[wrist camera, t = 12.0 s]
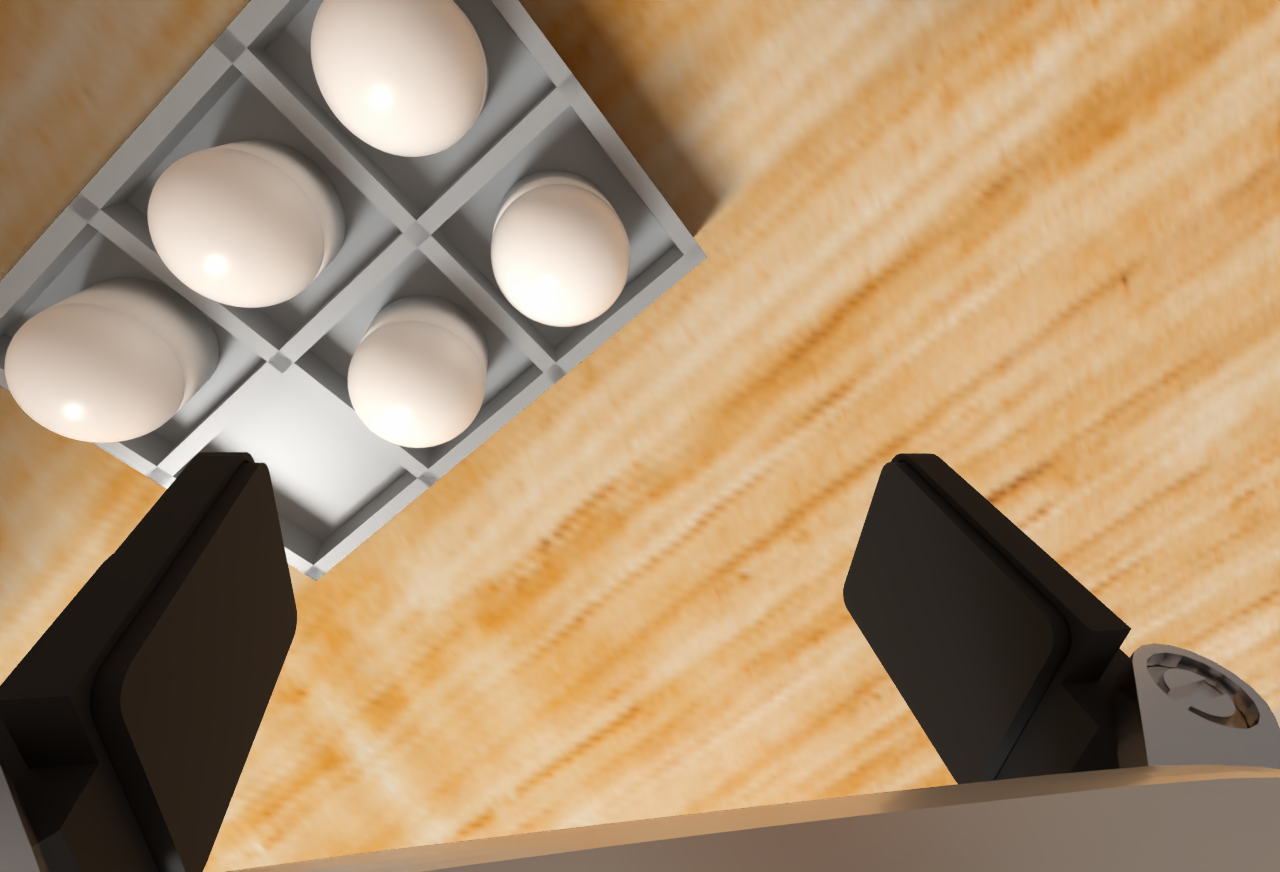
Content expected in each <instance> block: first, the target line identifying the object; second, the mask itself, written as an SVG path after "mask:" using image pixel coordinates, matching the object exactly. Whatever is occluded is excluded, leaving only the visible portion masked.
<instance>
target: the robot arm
mask: <svg viewBox="0 0 1280 872" xmlns="http://www.w3.org/2000/svg"><path fill="white" fill-rule="evenodd" d="M843 596H844V602H845V605H846V607H847V609H848V611H849V613H850V614H851V616H852V617H853V619H854V620H855V622H856V624H857V625H858V627H859V628H860V630H861V632H862V633H863V635H864V636H865V638H866V640H867V641H868V643H869V644H870V646H871V647H872V649H873V651H874V652H875V654H876V655H877V657H878V659H879V660H880V662H881V663H882V665H883V667H884V668H885V670H886V671H887V673H888V674H889V676H890V678H891V679H892V681H893V682H894V684H895V686H896V687H897V689H898V690H899V692H900V693H901V695H902V697H903V698H904V700H905V701H906V703H907V705H908V706H909V708H910V709H911V711H912V713H913V714H914V716H915V717H916V719H917V720H918V722H919V724H920V725H921V727H922V728H923V730H924V732H925V733H926V735H927V736H928V738H929V740H930V741H931V743H932V744H933V746H934V747H935V749H936V751H937V752H938V754H939V755H940V757H941V759H942V760H943V762H944V763H945V765H946V766H947V768H948V770H949V771H950V773H951V774H952V776H953V778H954V779H955V780H956V782H957V783H958V785H948V786H939V787H930V788H921V789H911V790H902V791H893V792H884V793H874V794H865V795H856V796H847V797H838V798H830V799H821V800H812V801H803V802H794V803H785V804H776V805H768V806H759V807H750V808H741V809H732V810H724V811H715V812H706V813H697V814H689V815H680V816H671V817H663V818H654V819H645V820H637V821H628V822H619V823H610V824H602V825H594V826H585V827H577V828H569V829H560V830H552V831H543V832H535V833H527V834H518V835H510V836H502V837H493V838H485V839H477V840H468V841H460V842H452V843H443V844H435V845H426V846H418V847H410V848H401V849H393V850H385V851H376V852H368V853H360V854H353V855H346V856H338V857H331V858H323V859H316V860H309V861H301V862H294V863H287V864H279V865H272V866H265V867H257V868H250V869H243V870H235V871H228V872H1280V728H1279V726H1278V723H1277V721H1276V718H1275V716H1274V714H1273V713H1272V711H1271V709H1270V708H1269V706H1268V704H1267V703H1266V702H1265V701H1264V700H1263V699H1262V698H1261V697H1260V695H1259V694H1258V693H1257V692H1256V691H1255V690H1254V689H1253V688H1252V687H1250V686H1249V685H1248V684H1247V683H1245V682H1244V681H1243V680H1241V679H1240V678H1239V677H1237V676H1236V675H1235V674H1234V673H1232V672H1230V671H1229V670H1227V669H1225V668H1223V667H1222V666H1220V665H1218V664H1217V663H1215V662H1213V661H1211V660H1209V659H1207V658H1205V657H1202V656H1200V655H1198V654H1196V653H1194V652H1191V651H1188V650H1185V649H1181V648H1178V647H1175V646H1171V645H1163V644H1148V645H1142V646H1140V647H1139V648H1138V649H1137V650H1135V651H1134V652H1133V654H1132V655H1131V657H1130V658H1129V657H1128V656H1127V655H1126V654H1125V653H1124V652H1123V651H1122V650H1121V649H1119V648H1120V646H1121V644H1122V643H1123V641H1124V640H1125V638H1126V636H1127V635H1128V633H1129V631H1130V630H1131V628H1130V627H1129V626H1128V625H1126V624H1125V623H1124V622H1123V621H1122V620H1121V619H1120V618H1119V617H1117V616H1116V615H1115V614H1114V613H1113V612H1112V611H1111V610H1110V609H1109V608H1107V607H1106V606H1105V605H1104V604H1103V603H1102V602H1101V601H1100V600H1098V599H1097V598H1096V597H1095V596H1094V595H1093V594H1092V593H1091V592H1089V591H1088V590H1087V589H1086V588H1085V587H1084V586H1083V585H1082V584H1081V583H1079V582H1078V581H1077V580H1076V579H1075V578H1074V577H1073V576H1072V575H1070V574H1069V573H1068V572H1067V571H1066V570H1065V569H1064V568H1063V567H1061V566H1060V565H1059V564H1058V563H1057V562H1056V561H1055V560H1054V559H1053V558H1051V557H1050V556H1049V555H1048V554H1047V553H1046V552H1045V551H1044V550H1042V549H1041V548H1040V547H1039V546H1038V545H1037V544H1036V543H1035V542H1033V541H1032V540H1031V539H1030V538H1029V537H1028V536H1027V535H1026V534H1024V533H1023V532H1022V531H1021V530H1020V529H1019V528H1018V527H1017V526H1016V525H1014V524H1013V523H1012V522H1011V521H1010V520H1009V519H1008V518H1007V517H1005V516H1004V515H1003V514H1002V513H1001V512H1000V511H999V510H998V509H996V508H995V507H994V506H993V505H992V504H991V503H990V502H989V501H988V500H986V499H985V498H984V497H983V496H982V495H981V494H980V493H979V492H977V491H976V490H975V489H974V488H973V487H972V486H971V485H970V484H968V483H967V482H966V481H965V480H964V479H963V478H962V477H961V476H960V475H958V474H957V473H956V472H955V471H954V470H953V469H952V468H951V467H949V466H948V465H947V464H946V463H945V462H944V461H943V460H942V459H940V458H939V457H938V456H936V455H935V454H898V455H896V456H895V457H894V458H893V459H892V461H891V462H889V463H887V464H886V465H885V466H884V467H883V469H882V471H881V474H880V477H879V480H878V483H877V486H876V489H875V492H874V495H873V499H872V502H871V505H870V508H869V511H868V514H867V517H866V520H865V523H864V526H863V529H862V532H861V535H860V538H859V541H858V544H857V548H856V551H855V554H854V557H853V560H852V563H851V566H850V569H849V572H848V575H847V578H846V581H845V584H844V589H843ZM296 624H297V610H296V604H295V599H294V594H293V589H292V584H291V579H290V573H289V568H288V563H287V558H286V553H285V548H284V543H283V538H282V533H281V528H280V522H279V517H278V512H277V507H276V502H275V497H274V492H273V487H272V482H271V476H270V472H269V469H268V467H267V465H266V464H265V463H255V462H254V459H253V457H252V456H251V454H249V453H248V452H200V453H198V454H197V455H196V456H194V458H193V459H192V460H191V461H190V462H189V464H188V465H187V466H186V467H185V468H184V470H183V471H182V472H181V473H180V474H179V476H178V477H177V478H176V479H175V480H174V482H173V483H172V484H171V485H170V487H169V488H168V489H167V490H166V491H165V493H164V494H163V495H162V496H161V497H160V499H159V500H158V501H157V502H156V503H155V505H154V506H153V507H152V508H151V509H150V511H149V512H148V513H147V514H146V515H145V517H144V518H143V519H142V520H141V521H140V523H139V524H138V525H137V526H136V528H135V529H134V530H133V531H132V532H131V534H130V535H129V536H128V537H127V538H126V540H125V541H124V542H123V543H122V544H121V546H120V547H119V548H118V549H117V550H116V552H115V553H114V554H112V555H111V556H110V557H109V558H108V559H107V560H106V561H105V562H103V564H102V565H101V566H100V567H99V568H98V570H97V571H96V572H95V573H94V574H93V576H92V577H91V578H90V579H89V580H88V582H87V583H86V584H85V585H84V586H83V588H82V589H81V590H80V591H79V592H78V594H77V595H76V596H75V597H74V598H73V600H72V601H71V602H70V603H69V604H68V606H67V607H66V608H65V609H64V610H63V612H62V613H61V614H60V615H59V616H58V618H57V619H56V620H55V621H54V622H53V624H52V625H51V626H50V627H49V628H48V629H47V631H46V632H45V633H44V634H43V635H42V637H41V638H40V639H39V640H38V641H37V643H36V644H35V645H34V646H33V647H32V649H31V650H30V651H29V652H28V653H27V655H26V656H25V657H24V658H23V659H22V661H21V662H20V663H19V664H18V665H17V667H16V668H15V669H14V670H13V671H12V673H11V674H10V675H9V676H8V677H7V679H6V680H5V681H4V682H3V683H2V685H1V686H0V872H202V871H203V869H204V867H205V865H206V863H207V860H208V858H209V855H210V852H211V850H212V847H213V845H214V842H215V840H216V837H217V834H218V832H219V829H220V827H221V824H222V821H223V819H224V816H225V814H226V811H227V808H228V806H229V803H230V801H231V798H232V796H233V793H234V790H235V788H236V785H237V783H238V780H239V777H240V775H241V772H242V770H243V767H244V764H245V762H246V759H247V757H248V754H249V752H250V749H251V746H252V744H253V741H254V739H255V736H256V733H257V731H258V728H259V726H260V723H261V720H262V718H263V715H264V713H265V710H266V707H267V705H268V702H269V700H270V697H271V695H272V692H273V689H274V687H275V684H276V682H277V679H278V676H279V674H280V671H281V669H282V666H283V663H284V661H285V658H286V656H287V653H288V651H289V648H290V645H291V643H292V640H293V638H294V634H295V630H296Z"/></svg>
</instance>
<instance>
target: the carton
mask: <svg viewBox="0 0 1280 872" xmlns="http://www.w3.org/2000/svg"><path fill="white" fill-rule="evenodd" d="M546 170H563V171H568V172H572V173H575V174H578V175H580V176H582V177H584V178H586V179H588V180H589V181H591V182H592V183H593V184H594V185H596V186H597V187H598V188H599V189H600V190H601V191H602V192H603V193H604V195H605V196H606V198H607V199H608V200H609V202H610V204H611V205H612V207H613V208H614V210H615V212H616V213H617V215H618V217H619V218H620V220H621V222H622V224H623V226H624V228H625V231H626V234H627V237H628V241H629V246H630V268H629V274H628V277H627V281H626V284H625V286H624V288H623V290H622V292H621V294H620V296H619V297H618V298H617V300H616V301H615V302H614V304H613V305H612V306H611V307H610V308H609V309H608V310H607V311H605V312H604V313H603V314H602V315H600V316H599V317H597V318H595V319H594V320H591V321H589V322H587V323H584V324H581V325H577V326H571V327H556V326H549V325H545V324H542V323H539V322H536V321H534V320H532V319H530V318H528V317H526V316H525V315H523V314H522V313H520V312H519V311H518V310H517V309H516V308H514V307H513V306H512V304H511V303H510V302H509V301H508V300H507V298H506V297H505V296H504V294H503V293H502V291H501V290H500V288H499V286H498V284H497V281H496V279H495V276H494V273H493V268H492V262H491V242H492V235H493V228H494V221H495V216H496V213H497V210H498V207H499V205H500V203H501V201H502V199H503V198H504V196H505V195H506V193H507V192H508V191H509V190H510V189H511V187H513V186H514V185H515V184H516V183H517V182H518V181H520V180H522V179H523V178H525V177H527V176H529V175H531V174H533V173H537V172H540V171H546ZM706 258H707V255H706V254H705V253H704V251H703V250H702V249H701V247H700V246H699V245H698V243H697V242H696V241H695V239H694V238H693V236H692V235H691V234H690V232H689V231H688V230H687V228H686V227H685V226H684V224H683V223H682V222H681V220H680V219H679V217H678V216H677V215H676V213H675V212H674V211H673V209H672V208H671V207H670V205H669V204H668V203H667V201H666V200H665V199H664V197H663V196H662V194H661V193H660V192H659V190H658V189H657V188H656V186H655V185H654V184H653V182H652V181H651V180H650V178H649V177H648V175H647V174H646V173H645V171H644V170H643V169H642V167H641V166H640V165H639V163H638V162H637V161H636V159H635V158H634V156H633V155H632V154H631V152H630V151H629V150H628V148H627V147H626V146H625V144H624V143H623V142H622V140H621V139H620V137H619V136H618V135H617V133H616V132H615V131H614V129H613V128H612V127H611V125H610V124H609V123H608V121H607V120H606V119H605V117H604V116H603V114H602V113H601V112H600V110H599V109H598V108H597V106H596V105H595V104H594V102H593V101H592V100H591V98H590V97H589V95H588V94H587V93H586V91H585V90H584V89H583V87H582V86H581V85H580V83H579V82H578V81H577V79H576V78H575V76H574V75H573V74H572V72H571V71H570V70H569V68H568V67H567V66H566V64H565V63H564V62H563V60H562V59H561V58H560V56H559V55H558V53H557V52H556V51H555V49H554V48H553V47H552V45H551V44H550V43H549V41H548V40H547V39H546V37H545V36H544V34H543V33H542V32H541V30H540V29H539V28H538V26H537V25H536V24H535V22H534V21H533V20H532V18H531V17H530V15H529V14H528V13H527V11H526V10H525V9H524V7H523V6H522V5H521V3H520V2H519V1H518V0H251V1H250V2H249V3H248V4H247V6H246V7H245V8H244V9H243V10H242V11H241V12H240V13H239V14H238V16H237V17H236V18H235V19H234V20H233V21H232V22H231V23H230V25H229V26H228V27H227V28H226V29H225V30H224V31H223V32H222V34H221V35H220V36H219V37H218V38H217V39H216V40H215V41H214V43H213V44H212V45H211V46H210V47H209V48H208V49H207V50H206V51H205V53H204V54H203V55H202V56H201V57H200V58H199V59H198V60H197V62H196V63H195V64H194V65H193V66H192V67H191V68H190V69H189V71H188V72H187V73H186V74H185V75H184V76H183V77H182V78H181V80H180V81H179V82H178V83H177V84H176V85H175V86H174V87H173V88H172V90H171V91H170V92H169V93H168V94H167V95H166V96H165V97H164V99H163V100H162V101H161V102H160V103H159V104H158V105H157V106H156V108H155V109H154V110H153V111H152V112H151V113H150V114H149V115H148V117H147V118H146V119H145V120H144V121H143V122H142V123H141V124H140V125H139V127H138V128H137V129H136V130H135V131H134V132H133V133H132V134H131V136H130V137H129V138H128V139H127V140H126V141H125V142H124V143H123V145H122V146H121V147H120V148H119V149H118V150H117V151H116V152H115V153H114V155H113V156H112V157H111V158H110V159H109V160H108V161H107V162H106V164H105V165H104V166H103V167H102V168H101V169H100V170H99V171H98V173H97V174H96V175H95V176H94V177H93V178H92V179H91V180H90V182H89V183H88V184H87V185H86V186H85V187H84V188H83V189H82V190H81V192H80V193H79V194H78V195H77V196H76V197H75V198H74V199H73V201H72V202H71V203H70V204H69V205H68V206H67V207H66V208H65V210H64V211H63V212H62V213H61V214H60V215H59V216H58V217H57V219H56V220H55V221H54V222H53V223H52V224H51V225H50V226H49V227H48V229H47V230H46V231H45V232H44V233H43V234H42V235H41V236H40V238H39V239H38V240H37V241H36V242H35V243H34V244H33V245H32V247H31V248H30V249H29V250H28V251H27V252H26V253H25V254H24V256H23V257H22V258H21V259H20V260H19V261H18V262H17V263H16V264H15V266H14V267H13V268H12V269H11V270H10V271H9V272H8V273H7V275H6V276H5V277H4V278H3V279H2V280H1V281H0V386H1V387H3V388H5V389H6V390H8V391H9V392H11V394H12V396H13V398H14V399H15V401H16V402H17V404H18V405H19V406H20V407H21V409H22V410H23V411H24V412H25V413H26V414H27V415H28V416H29V417H31V418H32V419H33V420H34V421H36V422H37V423H39V424H40V425H42V426H43V427H45V428H47V429H49V430H51V431H53V432H55V433H57V434H59V435H62V436H65V437H68V438H71V439H75V440H80V441H86V442H92V443H94V444H95V445H97V446H98V447H100V448H102V449H103V450H105V451H106V452H108V453H110V454H111V455H113V456H115V457H116V458H118V459H119V460H121V461H123V462H124V463H126V464H127V465H129V466H131V467H132V468H134V469H136V470H137V471H139V472H140V473H142V474H144V475H145V476H147V477H149V478H150V479H152V480H153V481H155V482H157V483H158V484H160V485H161V486H163V487H165V488H166V489H168V488H169V487H170V485H171V484H172V483H173V482H174V480H175V479H176V478H177V477H178V476H179V474H180V473H181V472H182V471H183V470H184V468H185V467H186V466H187V465H188V464H189V462H190V461H191V460H192V459H193V458H194V456H196V455H197V454H198V453H200V452H248V453H249V454H251V456H252V457H253V459H254V462H255V463H265V464H266V465H267V467H268V469H269V472H270V476H271V482H272V487H273V492H274V497H275V502H276V507H277V512H278V517H279V522H280V528H281V533H282V538H283V543H284V548H285V553H286V558H287V563H288V564H289V565H291V566H292V567H294V568H296V569H297V570H299V571H301V572H302V573H304V574H305V575H307V576H309V577H310V578H312V579H313V580H315V581H317V580H318V579H319V578H320V577H322V576H323V575H324V574H325V573H326V572H328V571H329V570H330V569H331V568H332V567H334V566H335V565H336V564H337V563H339V562H340V561H341V560H342V559H343V558H345V557H346V556H347V555H348V554H349V553H351V552H352V551H353V550H354V549H355V548H357V547H358V546H359V545H360V544H361V543H363V542H364V541H365V540H366V539H367V538H369V537H370V536H371V535H372V534H374V533H375V532H376V531H377V530H378V529H380V528H381V527H382V526H383V525H384V524H386V523H387V522H388V521H389V520H390V519H392V518H393V517H394V516H395V515H396V514H398V513H399V512H400V511H401V510H403V509H404V508H405V507H406V506H407V505H409V504H410V503H411V502H412V501H413V500H415V499H416V498H417V497H418V496H419V495H421V494H422V493H423V492H424V491H425V490H427V489H428V488H429V487H430V486H432V485H433V484H434V483H435V482H436V481H438V480H439V479H440V478H441V477H442V476H444V475H445V474H446V473H447V472H448V471H450V470H451V469H452V468H453V467H454V466H456V465H457V464H458V463H459V462H461V461H462V460H463V459H464V458H465V457H467V456H468V455H469V454H470V453H471V452H473V451H474V450H475V449H476V448H477V447H479V446H480V445H481V444H482V443H483V442H485V441H486V440H487V439H488V438H489V437H491V436H492V435H493V434H494V433H496V432H497V431H498V430H499V429H500V428H502V427H503V426H504V425H505V424H506V423H508V422H509V421H510V420H511V419H512V418H514V417H515V416H516V415H517V414H518V413H520V412H521V411H522V410H523V409H525V408H526V407H527V406H528V405H529V404H531V403H532V402H533V401H534V400H535V399H537V398H538V397H539V396H540V395H541V394H543V393H544V392H545V391H546V390H547V389H549V388H550V387H551V386H552V385H554V384H555V383H556V382H557V381H558V380H560V379H561V378H562V377H563V376H564V375H566V374H567V373H568V372H569V371H570V370H572V369H573V368H574V367H575V366H576V365H578V364H579V363H580V362H581V361H582V360H584V359H585V358H586V357H587V356H589V355H590V354H591V353H592V352H593V351H595V350H596V349H597V348H598V347H599V346H601V345H602V344H603V343H604V342H605V341H607V340H608V339H609V338H610V337H611V336H613V335H614V334H615V333H616V332H618V331H619V330H620V329H621V328H622V327H624V326H625V325H626V324H627V323H628V322H630V321H631V320H632V319H633V318H634V317H636V316H637V315H638V314H639V313H640V312H642V311H643V310H644V309H645V308H647V307H648V306H649V305H650V304H651V303H653V302H654V301H655V300H656V299H657V298H659V297H660V296H661V295H662V294H663V293H665V292H666V291H667V290H668V289H669V288H671V287H672V286H673V285H674V284H676V283H677V282H678V281H679V280H680V279H682V278H683V277H684V276H685V275H686V274H688V273H689V272H690V271H691V270H692V269H694V268H695V267H696V266H697V265H698V264H700V263H701V262H702V261H703V260H704V259H706Z"/></svg>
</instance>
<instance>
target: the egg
mask: <svg viewBox="0 0 1280 872" xmlns="http://www.w3.org/2000/svg"><path fill="white" fill-rule="evenodd" d="M491 262H492V268H493V273H494V276H495V279H496V281H497V284H498V286H499V288H500V290H501V291H502V293H503V294H504V296H505V297H506V298H507V300H508V301H509V302H510V303H511V304H512V306H513V307H514V308H516V309H517V310H518V311H519V312H520V313H522V314H523V315H525V316H526V317H528V318H530V319H532V320H534V321H536V322H539V323H542V324H545V325H549V326H556V327H571V326H577V325H581V324H584V323H587V322H589V321H591V320H594V319H595V318H597V317H599V316H600V315H602V314H603V313H604V312H605V311H607V310H608V309H609V308H610V307H611V306H612V305H613V304H614V302H615V301H616V300H617V298H618V297H619V296H620V294H621V292H622V290H623V288H624V286H625V284H626V281H627V277H628V274H629V268H630V246H629V241H628V237H627V234H626V231H625V228H624V226H623V224H622V222H621V220H620V218H619V217H618V215H617V213H616V212H615V210H614V208H613V207H612V205H611V204H610V202H609V200H608V199H607V198H606V196H605V195H604V193H603V192H602V191H601V190H600V189H599V188H598V187H597V186H596V185H594V184H593V183H592V182H591V181H589V180H588V179H586V178H584V177H582V176H580V175H578V174H575V173H572V172H568V171H563V170H546V171H540V172H537V173H533V174H531V175H529V176H527V177H525V178H523V179H522V180H520V181H518V182H517V183H516V184H515V185H514V186H513V187H511V189H510V190H509V191H508V192H507V193H506V195H505V196H504V198H503V199H502V201H501V203H500V205H499V207H498V210H497V213H496V216H495V221H494V228H493V235H492V242H491Z"/></svg>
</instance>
